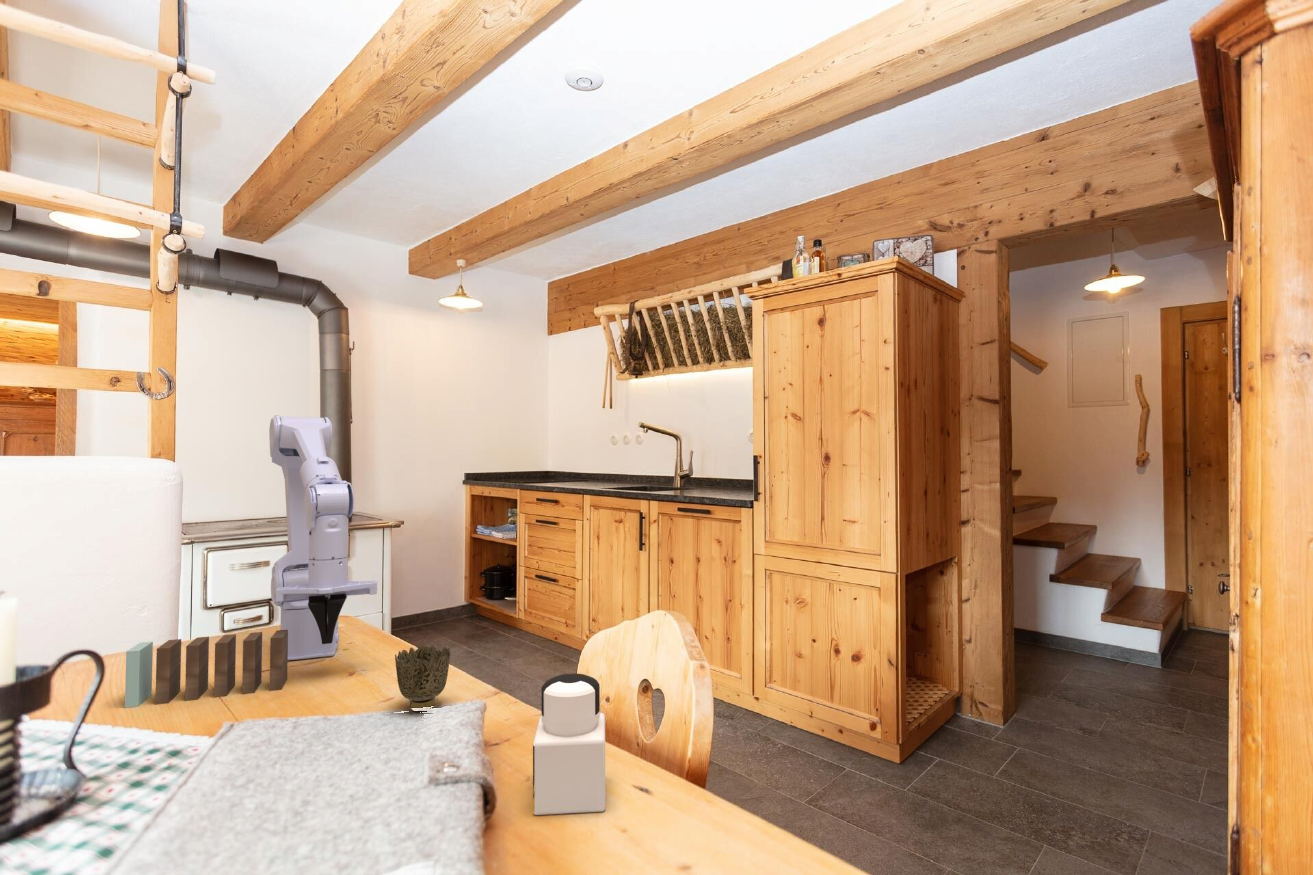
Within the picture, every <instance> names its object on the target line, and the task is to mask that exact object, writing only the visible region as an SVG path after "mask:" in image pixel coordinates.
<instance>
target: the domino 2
mask: <svg viewBox="0 0 1313 875" xmlns="http://www.w3.org/2000/svg"><path fill="white" fill-rule="evenodd" d="M181 667H182V638H177V639H169V640H167V641H165V642H164V643H163V644H161V645H160V646H159V647H157V648H156V666H155V668H156V669H155V673H156V674H155V704H154V705H166V704H170V702H172V700H174V699H175V698H176V697H177V695H179V693H181V674H182V673H181V671H182V669H181Z"/></svg>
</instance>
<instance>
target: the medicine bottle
mask: <svg viewBox="0 0 1313 875" xmlns="http://www.w3.org/2000/svg"><path fill="white" fill-rule="evenodd" d="M600 685H601V684H600V683H599V681H598V680H597V679H596V678H594V677H592V676H589V675H586V674H585V673H584V674H583V673H563V674H559V675H556V676H553V677H551V678H549V679H547V680H546V681H545V682H544V683H543V684H542V686H541V702H540V703H541V704H540V705H541V716H539V718H538V723H537V726H536V732H535V736H534V739H533V742H532V813H533V815H535V816H541V815H542V816H544V815H545V816H546V815H563V814H565V815H566V814H579V813H580V814H581V813H582V814H583V813H598V812H599V813H600V812H604V811H605V810H606V804H607V803H606V714H605V713H603V712H601V710H600V709H601V704H600V703H601V702H600V701H601V697H600Z"/></svg>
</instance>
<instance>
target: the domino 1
mask: <svg viewBox="0 0 1313 875" xmlns="http://www.w3.org/2000/svg"><path fill="white" fill-rule="evenodd" d="M153 647H154V641H144V642H139V643H137V644H135V645H134V646H133V647H131V648H129V649H128V650H126V653H125V683H124V684H125V687H124V689H125V690H124V694H125V695H124V709H129V708H130V709H131V708H137V707H140V706H141V705H143V703H145V701H147V700H148V699H149V698H150V697H151V696H152V695H153V690H152V689H153V656H154V655H153V652H154V648H153Z"/></svg>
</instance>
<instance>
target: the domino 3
mask: <svg viewBox="0 0 1313 875" xmlns="http://www.w3.org/2000/svg"><path fill="white" fill-rule="evenodd" d="M185 648H186V649H185V686H184V688H185V691H184V701H185V702H189V701H197V700H199V699H200V698H201V697H202V696H203V695H204V694H205V692H206V691H207V690H208V689H209V664H210V663H209V656H210V655H209V653H210V636H200V637H196V638H194V639H192V641H191V642H189V644H187V645H186V646H185Z"/></svg>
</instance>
